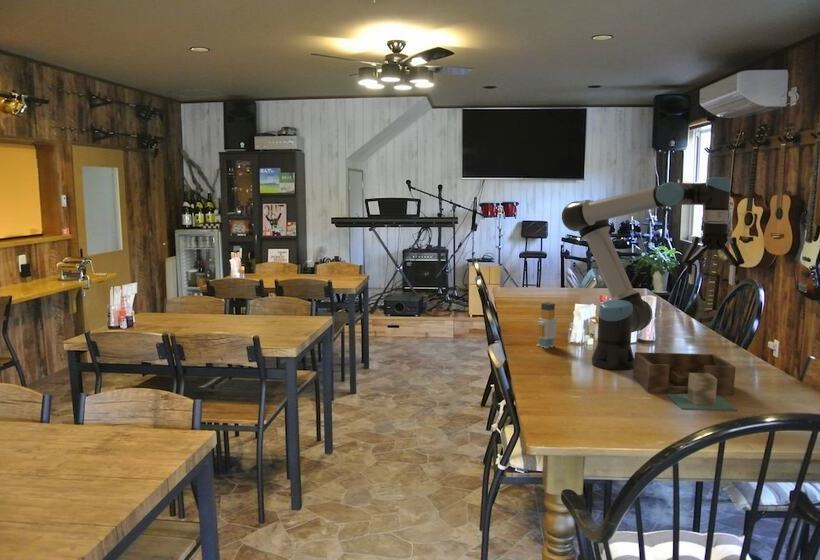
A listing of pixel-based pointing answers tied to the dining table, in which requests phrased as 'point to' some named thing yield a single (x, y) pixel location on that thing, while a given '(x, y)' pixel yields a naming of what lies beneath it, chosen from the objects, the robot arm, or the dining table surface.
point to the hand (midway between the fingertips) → (711, 284)
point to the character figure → (547, 325)
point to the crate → (681, 371)
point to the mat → (687, 404)
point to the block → (702, 388)
